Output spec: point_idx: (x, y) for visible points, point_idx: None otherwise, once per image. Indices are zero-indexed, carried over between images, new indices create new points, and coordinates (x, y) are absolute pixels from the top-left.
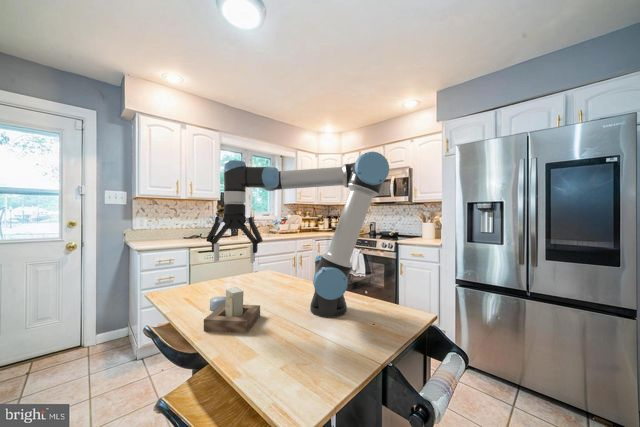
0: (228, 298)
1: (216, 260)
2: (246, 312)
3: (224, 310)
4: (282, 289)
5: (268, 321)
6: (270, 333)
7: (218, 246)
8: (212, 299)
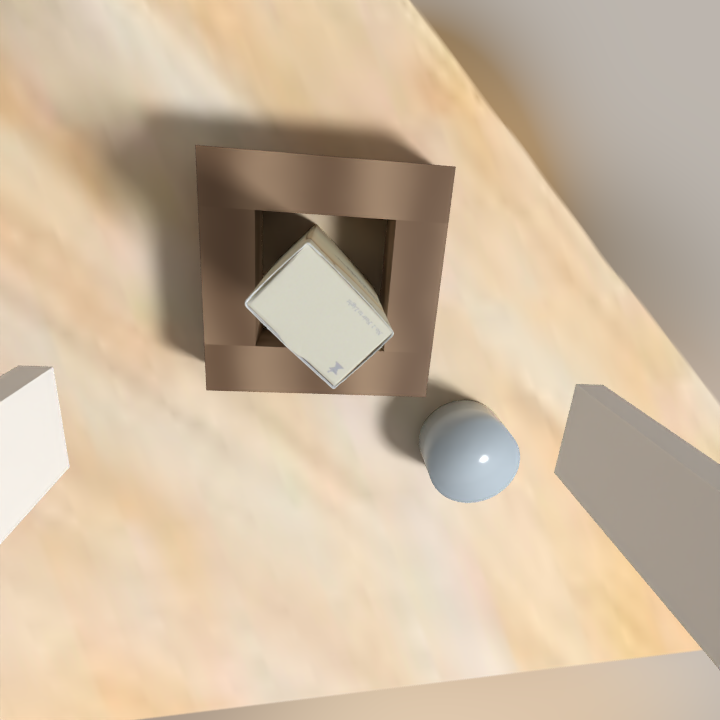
0: (355, 282)
1: (580, 407)
2: (247, 281)
3: (387, 310)
4: (218, 689)
5: (147, 301)
6: (80, 154)
7: (714, 615)
8: (507, 456)
